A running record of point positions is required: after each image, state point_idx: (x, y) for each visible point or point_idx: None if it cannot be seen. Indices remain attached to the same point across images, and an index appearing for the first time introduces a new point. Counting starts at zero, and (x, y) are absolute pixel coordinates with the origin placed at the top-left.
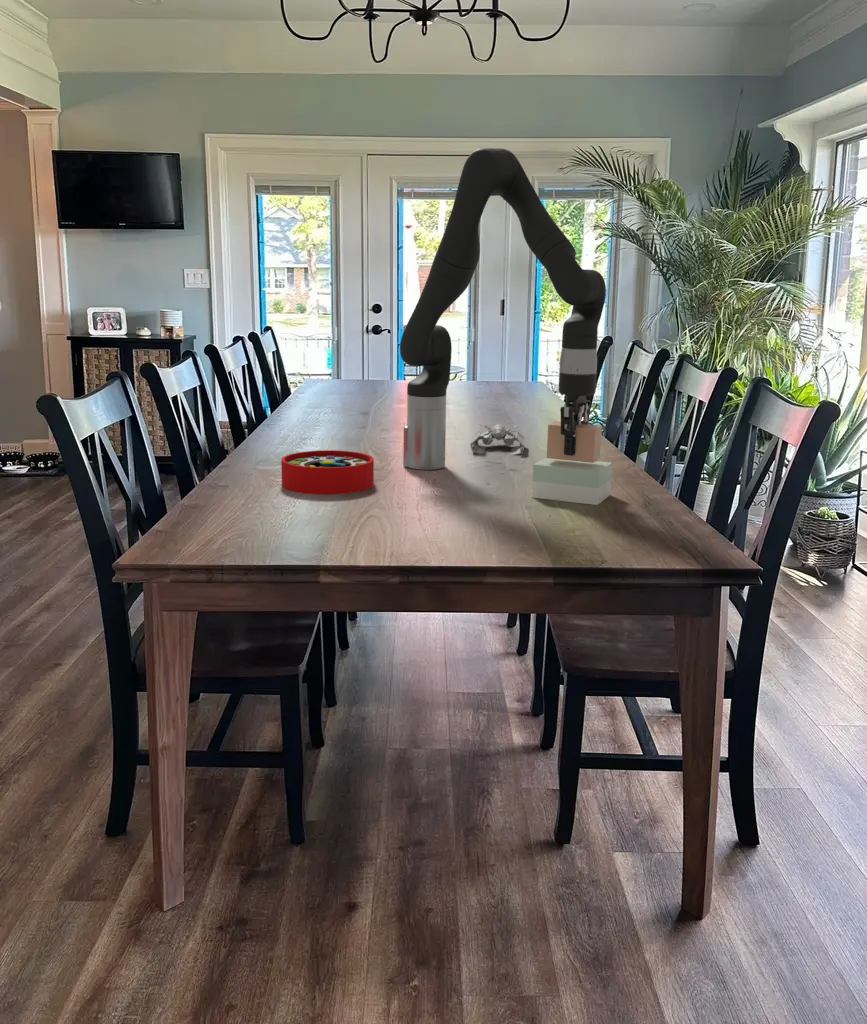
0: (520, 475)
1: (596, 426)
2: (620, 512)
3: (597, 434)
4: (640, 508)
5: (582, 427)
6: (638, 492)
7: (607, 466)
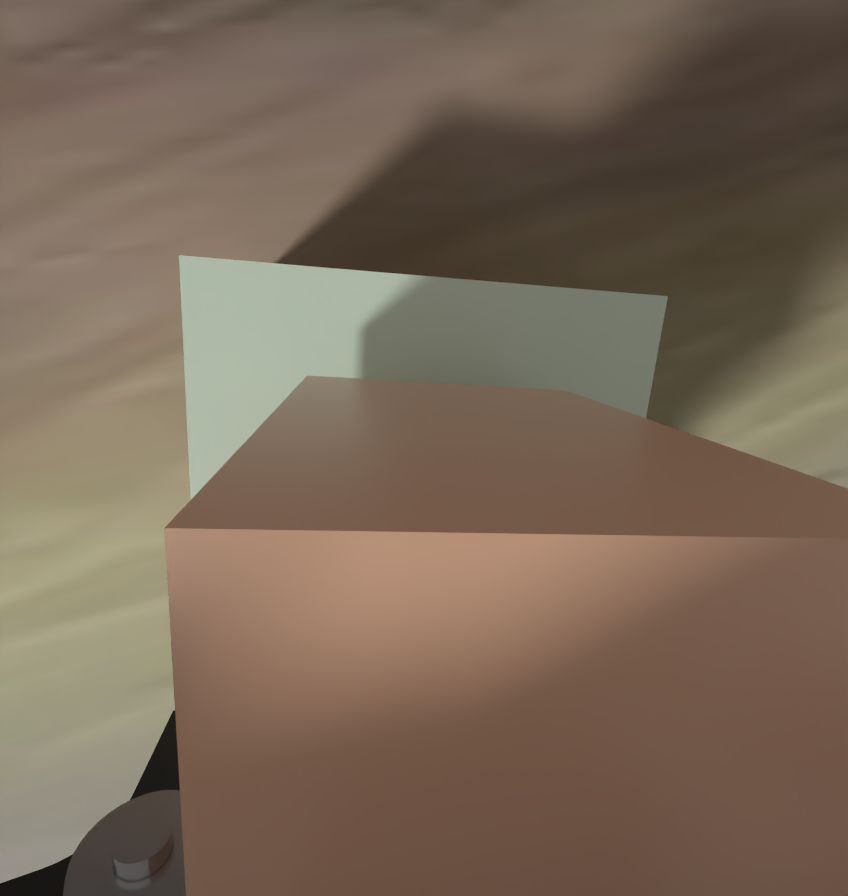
0: (21, 858)
1: (538, 632)
2: (673, 139)
3: (619, 467)
4: (536, 17)
5: (842, 878)
6: (52, 89)
7: (378, 272)
